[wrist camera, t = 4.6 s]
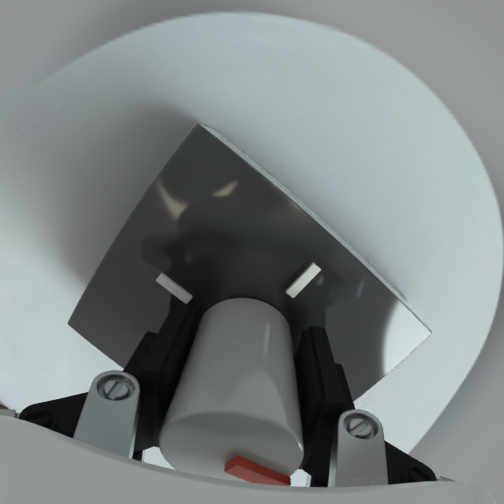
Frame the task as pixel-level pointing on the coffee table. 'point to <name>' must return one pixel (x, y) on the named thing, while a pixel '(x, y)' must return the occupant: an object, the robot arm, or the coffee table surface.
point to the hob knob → (237, 398)
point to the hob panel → (242, 265)
